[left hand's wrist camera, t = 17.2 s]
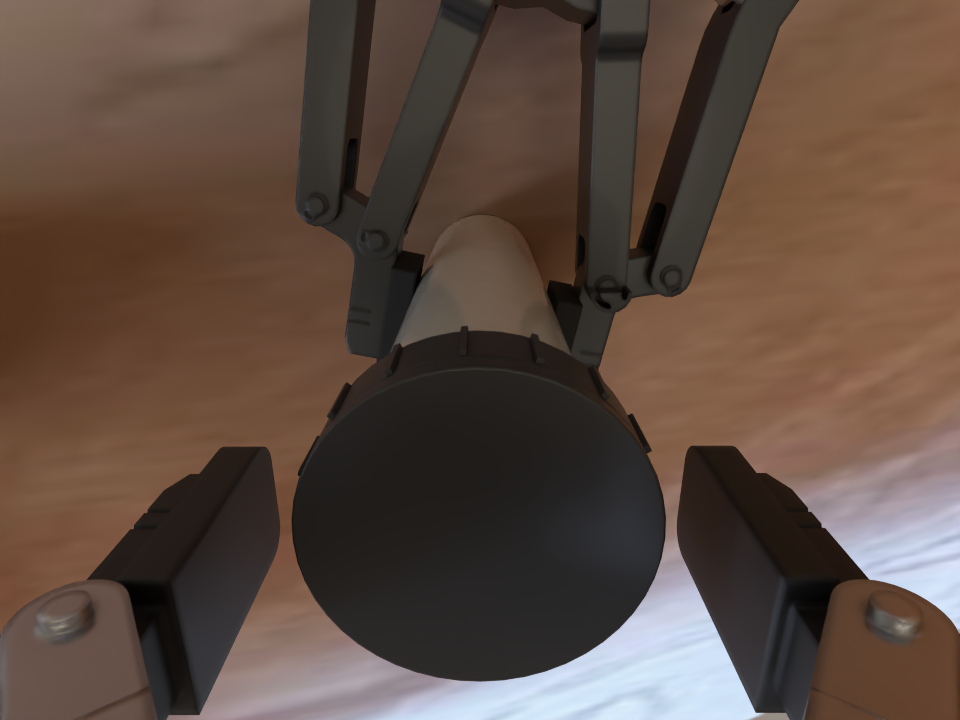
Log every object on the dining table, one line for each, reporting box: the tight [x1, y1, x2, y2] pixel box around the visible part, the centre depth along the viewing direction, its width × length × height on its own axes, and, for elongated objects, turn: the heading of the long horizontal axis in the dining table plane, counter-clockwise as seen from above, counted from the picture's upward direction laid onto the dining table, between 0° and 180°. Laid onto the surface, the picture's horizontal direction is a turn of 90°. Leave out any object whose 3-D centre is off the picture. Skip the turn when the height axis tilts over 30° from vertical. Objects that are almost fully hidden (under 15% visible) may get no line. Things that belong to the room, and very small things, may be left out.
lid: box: [292, 326, 666, 681], centre depth 9 cm, size 5×5×2 cm
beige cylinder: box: [390, 215, 572, 356], centre depth 18 cm, size 4×4×18 cm
